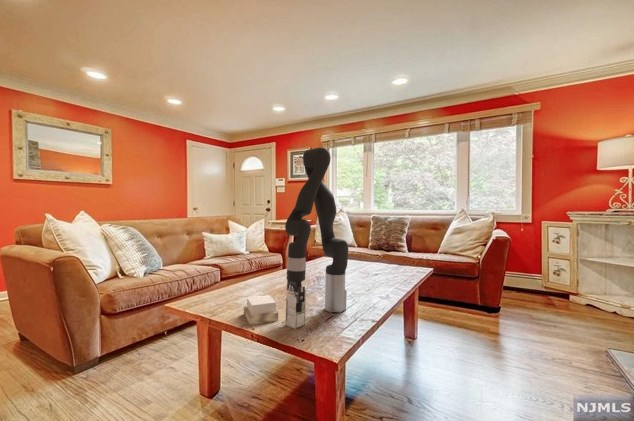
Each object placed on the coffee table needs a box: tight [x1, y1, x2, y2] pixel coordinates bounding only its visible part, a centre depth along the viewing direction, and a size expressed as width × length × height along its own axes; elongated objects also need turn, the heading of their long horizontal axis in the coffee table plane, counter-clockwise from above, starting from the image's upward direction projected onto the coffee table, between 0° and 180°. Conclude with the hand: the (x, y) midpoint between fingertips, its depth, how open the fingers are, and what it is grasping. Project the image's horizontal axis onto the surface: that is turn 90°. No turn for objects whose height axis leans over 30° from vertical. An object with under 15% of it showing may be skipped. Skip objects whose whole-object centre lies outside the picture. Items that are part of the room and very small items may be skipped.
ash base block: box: [243, 305, 279, 326], centre depth 121 cm, size 12×12×4 cm
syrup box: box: [284, 289, 307, 330], centre depth 114 cm, size 6×6×14 cm
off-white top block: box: [246, 294, 277, 315], centre depth 121 cm, size 10×10×4 cm
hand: (294, 308), depth 114 cm, fingers open, 8 cm apart
